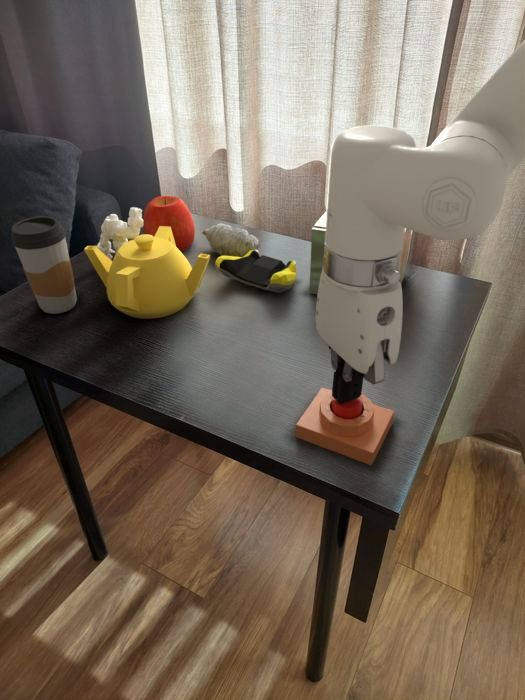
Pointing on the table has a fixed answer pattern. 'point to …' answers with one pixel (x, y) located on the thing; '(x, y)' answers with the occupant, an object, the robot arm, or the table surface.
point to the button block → (345, 428)
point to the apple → (170, 220)
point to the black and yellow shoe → (259, 271)
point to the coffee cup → (46, 262)
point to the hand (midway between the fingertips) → (346, 396)
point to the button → (348, 408)
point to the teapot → (149, 275)
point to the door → (316, 258)
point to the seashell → (231, 240)
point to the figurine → (119, 231)
